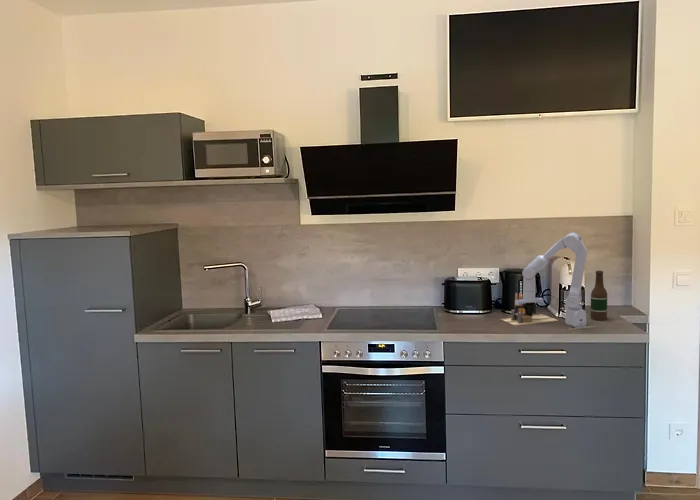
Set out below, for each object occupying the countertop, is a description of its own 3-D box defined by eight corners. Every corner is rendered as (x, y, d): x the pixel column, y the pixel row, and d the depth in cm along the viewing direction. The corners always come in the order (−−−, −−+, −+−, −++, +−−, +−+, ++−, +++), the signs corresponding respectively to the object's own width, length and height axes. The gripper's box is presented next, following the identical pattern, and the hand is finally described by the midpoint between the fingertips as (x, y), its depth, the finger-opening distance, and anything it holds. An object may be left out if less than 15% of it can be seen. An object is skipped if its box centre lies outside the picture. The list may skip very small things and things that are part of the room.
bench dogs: (522, 325, 284) (522, 312, 283) (519, 325, 283) (519, 313, 283) (513, 321, 291) (513, 309, 291) (510, 321, 291) (510, 309, 290)
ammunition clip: (535, 315, 303) (535, 292, 302) (536, 315, 301) (536, 292, 300) (514, 314, 305) (514, 292, 304) (514, 315, 303) (514, 292, 302)
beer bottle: (601, 321, 285) (602, 272, 282) (587, 318, 292) (587, 271, 289) (610, 318, 290) (611, 270, 287) (595, 316, 296) (596, 269, 293)
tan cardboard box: (531, 321, 285) (532, 316, 285) (522, 322, 284) (522, 317, 283) (522, 318, 293) (522, 313, 292) (513, 319, 291) (513, 314, 291)
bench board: (559, 322, 286) (559, 320, 286) (515, 327, 279) (515, 325, 279) (542, 316, 299) (542, 314, 299) (500, 321, 293) (500, 319, 293)
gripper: (537, 288, 293) (537, 314, 295) (511, 290, 289) (511, 317, 291) (545, 290, 286) (545, 317, 288) (519, 293, 282) (519, 320, 284)
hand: (529, 317), depth 289 cm, fingers closed
